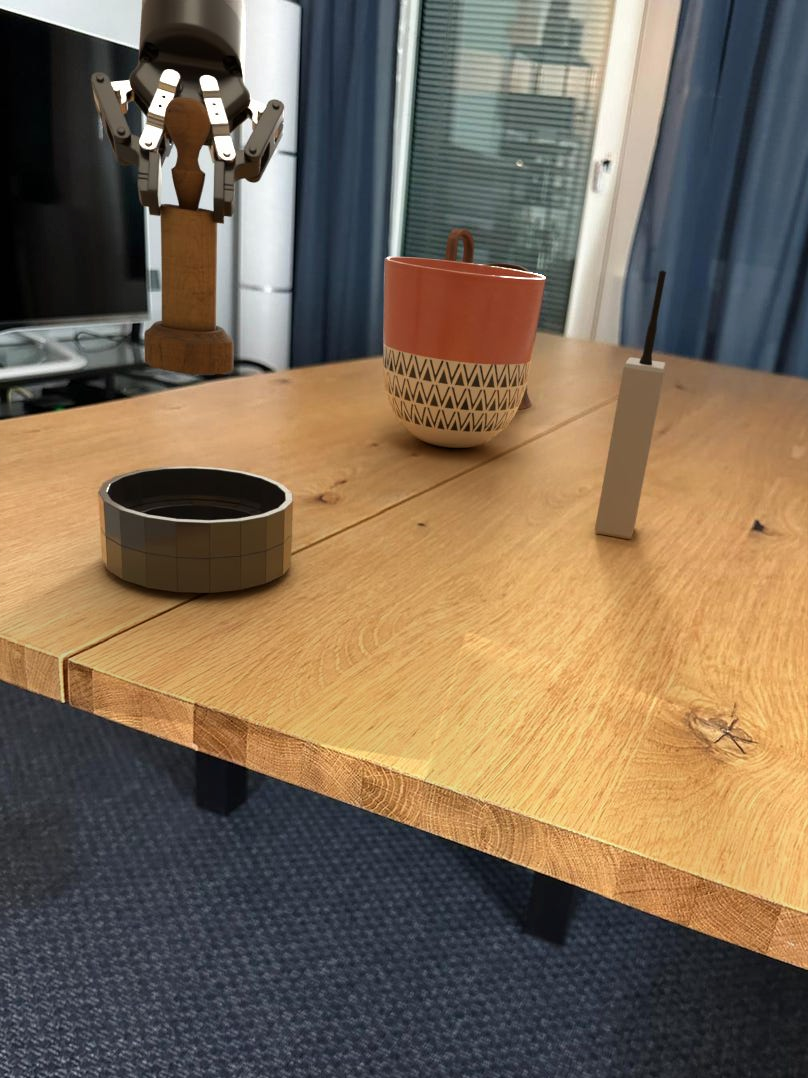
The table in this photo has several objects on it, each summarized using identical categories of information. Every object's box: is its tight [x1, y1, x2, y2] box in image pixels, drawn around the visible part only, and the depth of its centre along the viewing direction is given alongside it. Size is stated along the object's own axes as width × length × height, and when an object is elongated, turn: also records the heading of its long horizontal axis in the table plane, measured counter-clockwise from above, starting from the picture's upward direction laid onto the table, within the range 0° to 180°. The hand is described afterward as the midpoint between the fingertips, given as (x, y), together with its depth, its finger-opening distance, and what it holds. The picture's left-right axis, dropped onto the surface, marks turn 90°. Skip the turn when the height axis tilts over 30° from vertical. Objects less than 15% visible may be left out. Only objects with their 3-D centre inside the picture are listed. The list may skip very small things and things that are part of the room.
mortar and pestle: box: [143, 97, 235, 376], centre depth 67 cm, size 7×6×18 cm
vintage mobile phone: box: [594, 269, 667, 540], centre depth 89 cm, size 4×5×25 cm
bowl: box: [97, 465, 294, 594], centre depth 72 cm, size 14×14×6 cm
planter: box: [382, 256, 547, 449], centre depth 116 cm, size 20×20×21 cm
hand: (186, 209), depth 65 cm, fingers closed on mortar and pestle, 3 cm apart
